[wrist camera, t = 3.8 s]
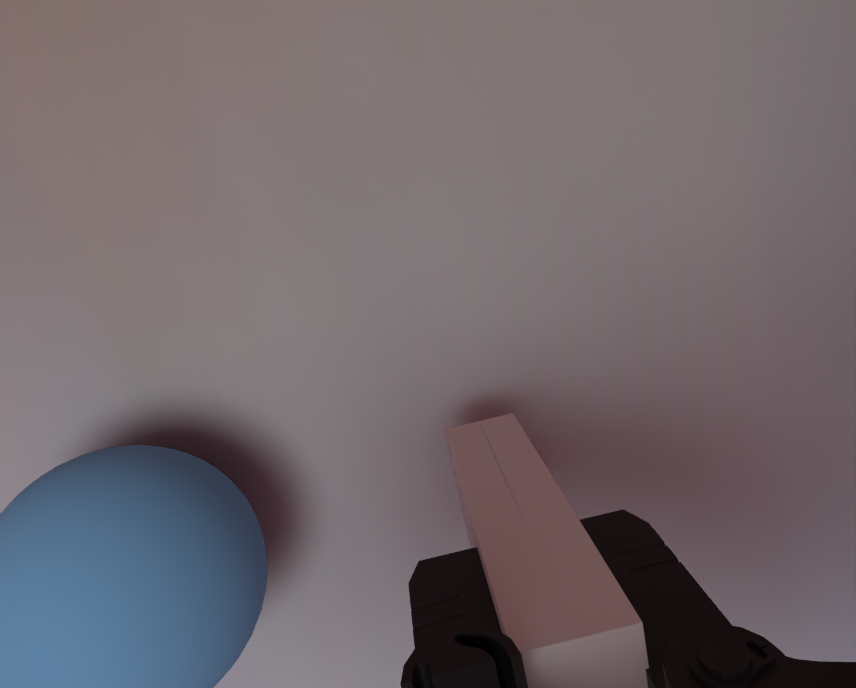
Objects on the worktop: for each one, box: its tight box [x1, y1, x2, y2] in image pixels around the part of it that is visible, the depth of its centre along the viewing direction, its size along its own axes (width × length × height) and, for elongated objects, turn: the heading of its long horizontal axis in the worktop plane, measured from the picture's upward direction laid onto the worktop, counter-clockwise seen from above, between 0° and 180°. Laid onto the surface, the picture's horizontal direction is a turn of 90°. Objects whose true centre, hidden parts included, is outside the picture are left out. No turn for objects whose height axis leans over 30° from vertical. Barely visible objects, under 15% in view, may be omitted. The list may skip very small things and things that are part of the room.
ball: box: [0, 445, 267, 688], centre depth 13 cm, size 6×6×6 cm
